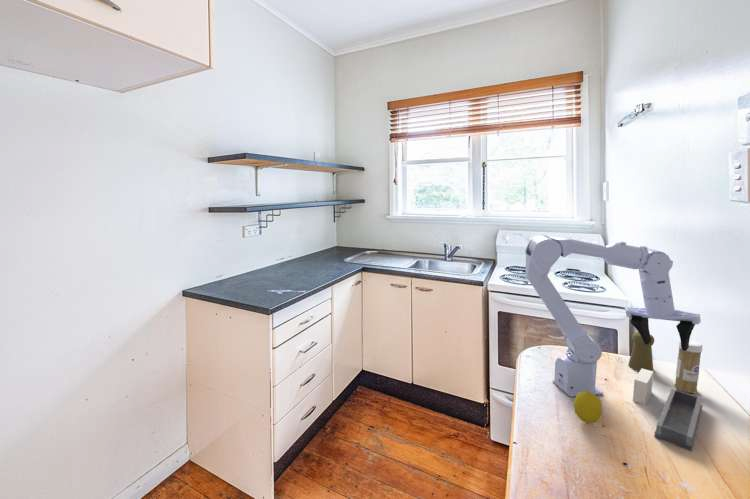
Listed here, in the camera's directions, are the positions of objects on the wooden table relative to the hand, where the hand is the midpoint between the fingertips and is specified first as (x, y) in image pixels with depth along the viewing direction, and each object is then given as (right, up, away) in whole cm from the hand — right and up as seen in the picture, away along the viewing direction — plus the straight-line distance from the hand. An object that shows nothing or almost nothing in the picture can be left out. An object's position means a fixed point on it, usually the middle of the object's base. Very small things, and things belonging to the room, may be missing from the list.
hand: (665, 345), depth 86 cm
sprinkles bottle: (+9, -13, +4) cm, 17 cm away
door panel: (-5, -14, +2) cm, 15 cm away
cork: (+6, -12, +16) cm, 21 cm away
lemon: (-25, -16, -8) cm, 31 cm away
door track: (-4, -15, -8) cm, 18 cm away
